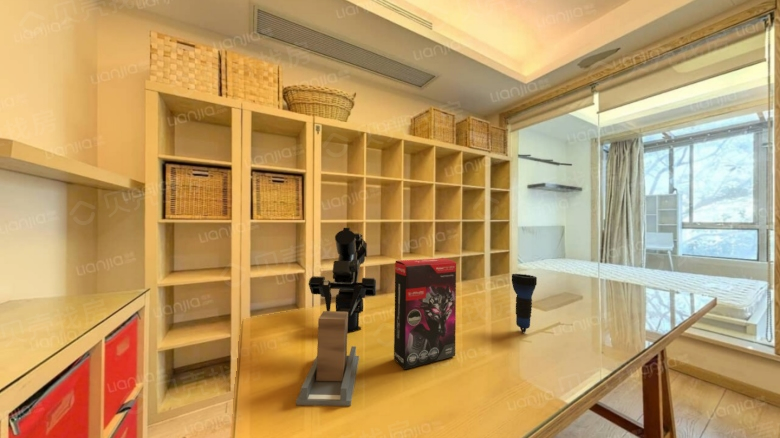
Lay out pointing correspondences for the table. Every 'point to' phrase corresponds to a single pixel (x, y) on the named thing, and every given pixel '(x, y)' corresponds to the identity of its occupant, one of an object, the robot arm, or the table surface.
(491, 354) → the table surface
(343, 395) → the chute
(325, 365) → the block
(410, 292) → the graphics card box
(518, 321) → the flashlight
